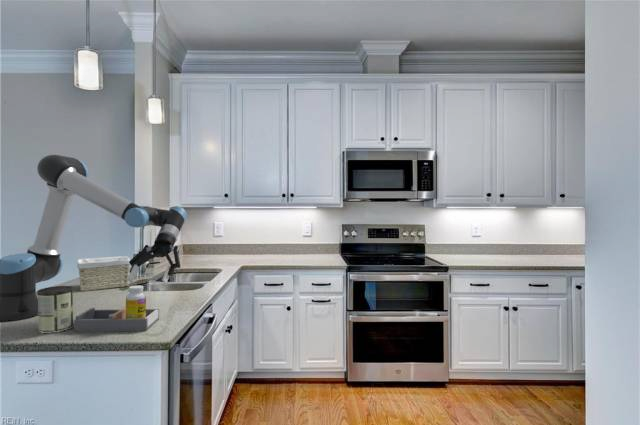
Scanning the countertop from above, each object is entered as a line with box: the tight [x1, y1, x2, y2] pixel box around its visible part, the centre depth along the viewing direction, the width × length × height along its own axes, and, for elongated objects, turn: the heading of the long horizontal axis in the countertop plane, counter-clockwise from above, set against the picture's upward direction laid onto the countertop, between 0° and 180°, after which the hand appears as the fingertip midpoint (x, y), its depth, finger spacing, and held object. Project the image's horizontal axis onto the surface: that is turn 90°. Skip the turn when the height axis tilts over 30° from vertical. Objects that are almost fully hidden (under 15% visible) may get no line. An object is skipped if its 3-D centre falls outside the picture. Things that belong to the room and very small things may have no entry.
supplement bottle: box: [125, 285, 147, 319], centre depth 141 cm, size 7×7×13 cm
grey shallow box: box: [73, 307, 160, 333], centre depth 141 cm, size 24×13×5 cm, turn 94°
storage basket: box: [76, 255, 131, 292], centre depth 203 cm, size 24×16×15 cm
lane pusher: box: [109, 306, 126, 319], centre depth 140 cm, size 4×10×4 cm, turn 4°
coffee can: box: [36, 285, 74, 334], centre depth 136 cm, size 10×10×14 cm
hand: (146, 281), depth 147 cm, fingers open, 13 cm apart
